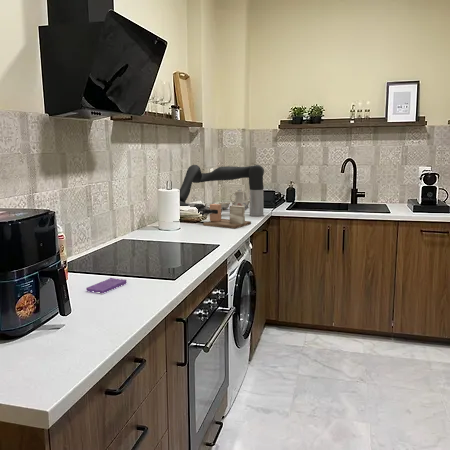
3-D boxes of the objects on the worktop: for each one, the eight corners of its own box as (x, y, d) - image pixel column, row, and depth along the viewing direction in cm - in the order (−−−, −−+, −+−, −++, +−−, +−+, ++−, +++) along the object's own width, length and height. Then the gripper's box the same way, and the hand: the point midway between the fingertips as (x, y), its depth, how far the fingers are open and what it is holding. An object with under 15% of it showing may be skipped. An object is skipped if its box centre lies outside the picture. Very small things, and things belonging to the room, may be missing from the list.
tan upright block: (213, 219, 281) (212, 203, 279) (221, 220, 278) (221, 204, 276) (209, 220, 278) (209, 204, 276) (218, 221, 275) (217, 205, 273)
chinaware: (245, 208, 351) (243, 186, 349) (259, 208, 337) (258, 186, 336) (215, 212, 334) (213, 189, 333) (229, 212, 321) (227, 188, 319)
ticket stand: (220, 220, 287) (220, 202, 285) (251, 223, 275) (251, 204, 273) (203, 225, 272) (203, 206, 270) (234, 228, 260) (234, 208, 258)
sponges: (127, 284, 161) (126, 279, 161) (102, 295, 150) (102, 290, 150) (111, 282, 164) (110, 277, 164) (86, 292, 153) (85, 287, 153)
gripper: (203, 214, 291) (226, 216, 282) (189, 217, 280) (212, 219, 270) (203, 202, 290) (225, 203, 280) (189, 204, 278) (212, 206, 269)
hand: (219, 211), depth 275 cm, fingers closed on tan upright block, 3 cm apart
